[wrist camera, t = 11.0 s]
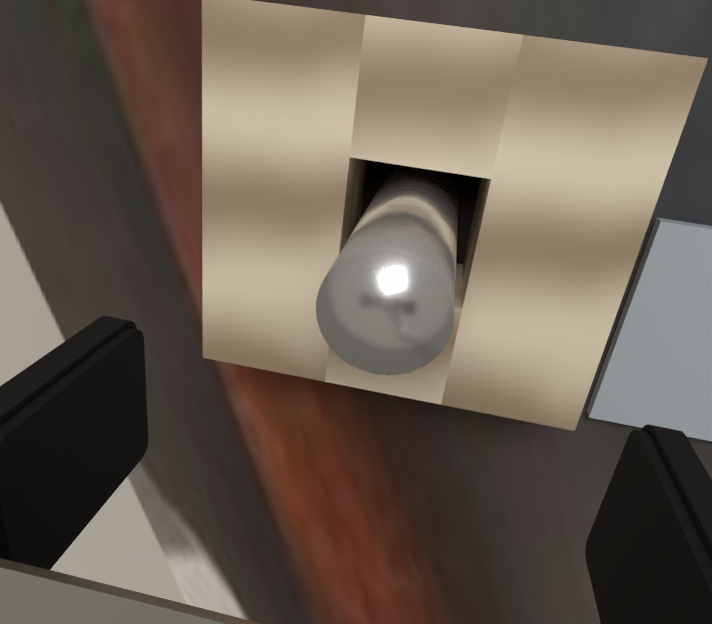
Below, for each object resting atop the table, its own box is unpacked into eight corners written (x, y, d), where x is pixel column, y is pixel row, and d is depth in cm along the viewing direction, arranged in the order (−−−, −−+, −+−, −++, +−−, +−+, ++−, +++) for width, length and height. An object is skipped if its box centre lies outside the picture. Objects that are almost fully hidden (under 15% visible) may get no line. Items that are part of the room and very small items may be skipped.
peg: (450, 247, 26) (440, 386, 15) (373, 234, 26) (310, 361, 16) (465, 168, 24) (466, 262, 14) (383, 155, 25) (322, 237, 14)
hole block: (556, 368, 28) (574, 430, 23) (242, 310, 29) (203, 357, 25) (657, 56, 21) (708, 58, 17) (252, 4, 23) (201, -6, 19)
